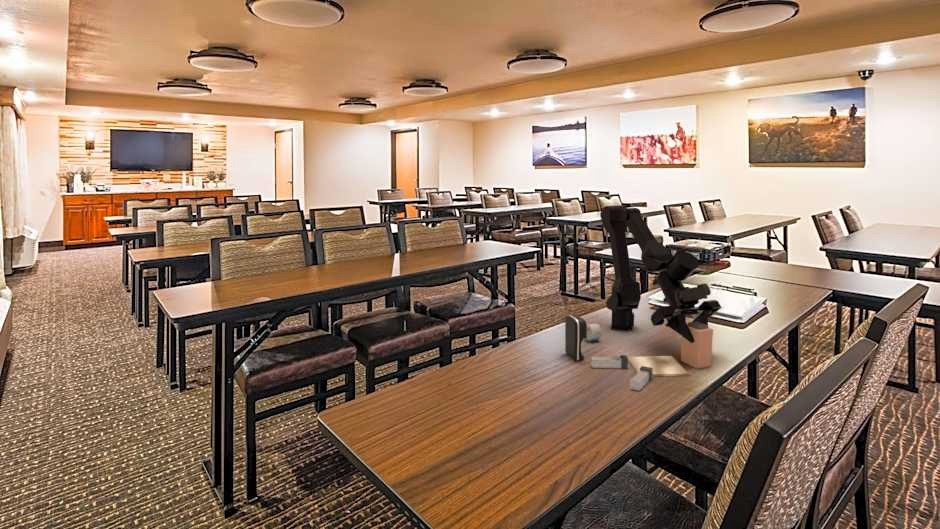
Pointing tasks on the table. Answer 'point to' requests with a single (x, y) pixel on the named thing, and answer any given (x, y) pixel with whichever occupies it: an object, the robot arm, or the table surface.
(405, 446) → the table surface
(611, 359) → the shaft side
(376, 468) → the table surface
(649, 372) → the shaft front
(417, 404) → the table surface
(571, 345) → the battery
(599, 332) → the electric motor
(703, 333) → the peach upright block
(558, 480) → the table surface
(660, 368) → the pad
